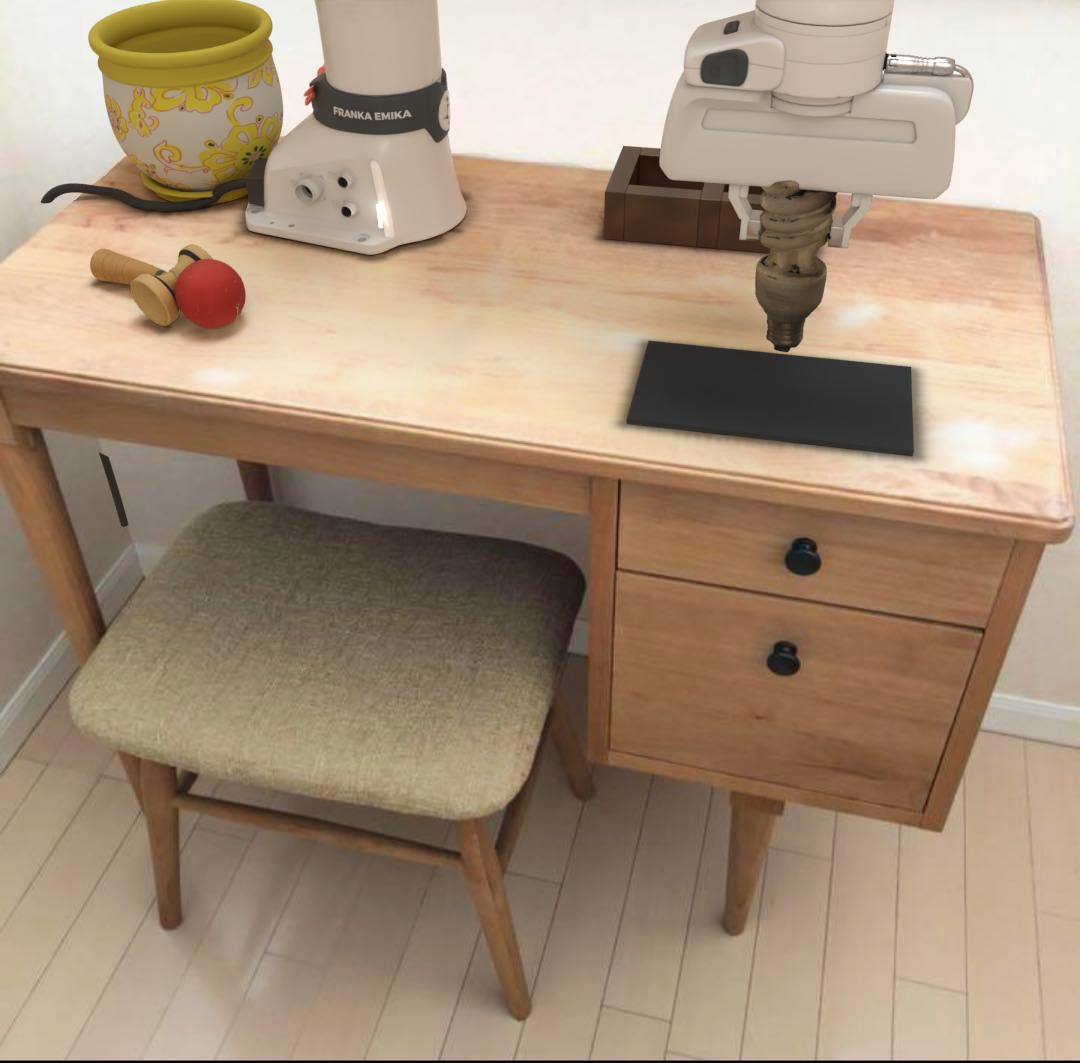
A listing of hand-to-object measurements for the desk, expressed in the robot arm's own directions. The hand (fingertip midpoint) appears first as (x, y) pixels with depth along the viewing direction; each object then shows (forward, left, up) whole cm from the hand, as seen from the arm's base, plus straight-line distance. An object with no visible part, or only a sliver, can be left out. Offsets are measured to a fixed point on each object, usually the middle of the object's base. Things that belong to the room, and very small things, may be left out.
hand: (792, 240), depth 90 cm
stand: (-8, +30, -14) cm, 34 cm away
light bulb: (0, 0, -9) cm, 9 cm away
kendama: (-55, +4, -14) cm, 57 cm away
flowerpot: (-62, +30, -14) cm, 71 cm away
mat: (0, 0, -14) cm, 14 cm away
